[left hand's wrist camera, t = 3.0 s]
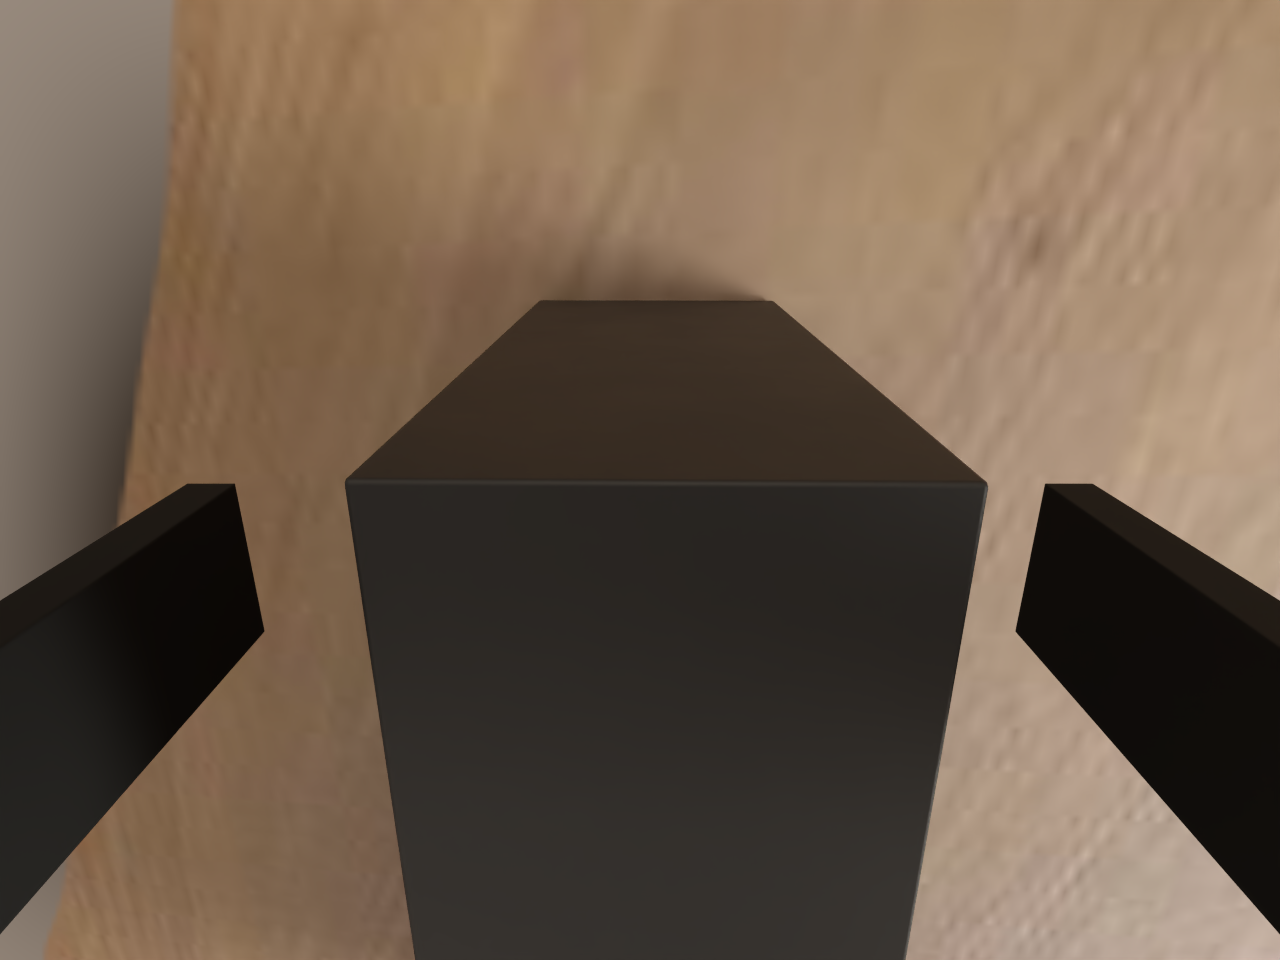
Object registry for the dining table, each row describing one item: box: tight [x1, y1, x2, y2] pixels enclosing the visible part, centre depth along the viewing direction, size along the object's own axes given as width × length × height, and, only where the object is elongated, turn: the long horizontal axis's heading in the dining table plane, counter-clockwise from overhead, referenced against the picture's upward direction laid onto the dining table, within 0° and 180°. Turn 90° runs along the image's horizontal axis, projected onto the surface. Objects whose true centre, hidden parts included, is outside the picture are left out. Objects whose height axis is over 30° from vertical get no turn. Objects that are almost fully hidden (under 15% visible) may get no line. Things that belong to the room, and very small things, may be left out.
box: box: [345, 301, 988, 960], centre depth 17 cm, size 26×6×13 cm, turn 0°
